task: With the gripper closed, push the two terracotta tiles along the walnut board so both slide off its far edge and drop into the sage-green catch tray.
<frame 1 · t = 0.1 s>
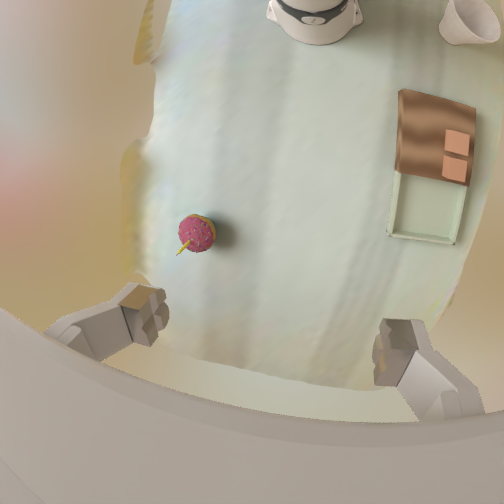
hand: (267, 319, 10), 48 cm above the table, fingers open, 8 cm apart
cup: (450, 33, 31), on the table
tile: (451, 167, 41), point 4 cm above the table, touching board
board: (433, 137, 43), on the table
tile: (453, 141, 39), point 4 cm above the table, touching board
cupcake: (204, 226, 64), on the table
tray: (425, 206, 49), on the table
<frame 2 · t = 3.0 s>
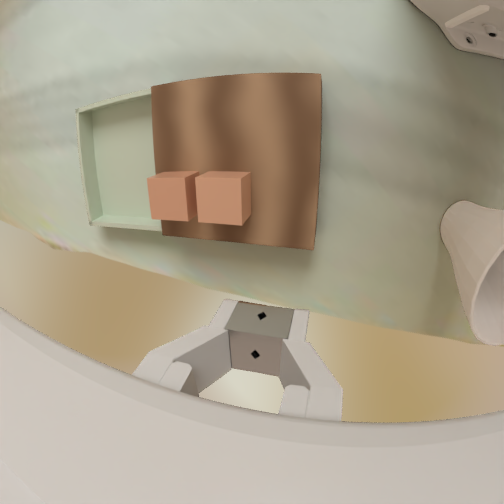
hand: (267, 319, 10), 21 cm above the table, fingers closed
cup: (461, 225, 25), on the table
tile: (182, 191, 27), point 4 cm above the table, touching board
board: (241, 155, 28), on the table
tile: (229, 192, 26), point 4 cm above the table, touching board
tray: (129, 159, 31), on the table
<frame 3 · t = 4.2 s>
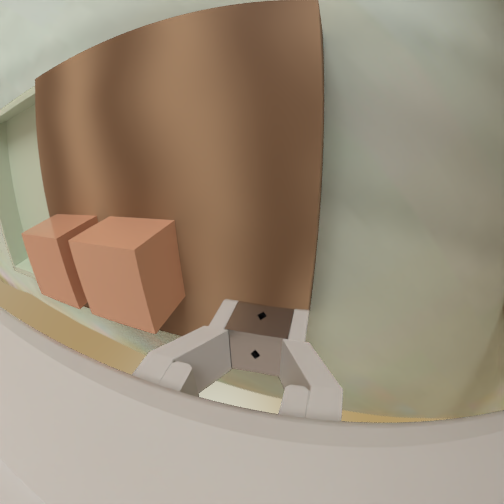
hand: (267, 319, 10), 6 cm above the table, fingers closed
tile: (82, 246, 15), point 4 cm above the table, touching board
board: (177, 178, 15), on the table
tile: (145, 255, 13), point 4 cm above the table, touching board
tray: (43, 185, 19), on the table
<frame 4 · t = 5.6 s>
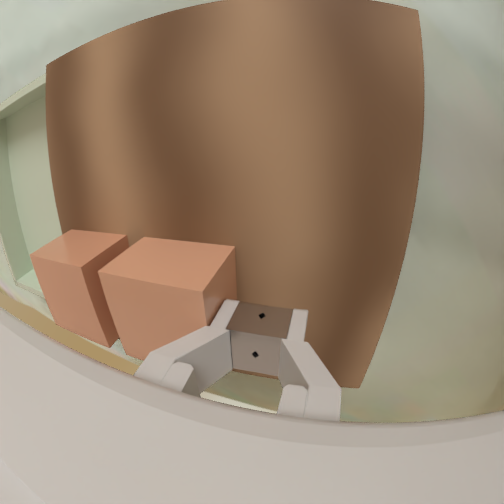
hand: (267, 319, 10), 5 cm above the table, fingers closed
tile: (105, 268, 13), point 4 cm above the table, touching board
board: (221, 190, 14), on the table
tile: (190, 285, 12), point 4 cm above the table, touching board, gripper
tray: (49, 192, 17), on the table
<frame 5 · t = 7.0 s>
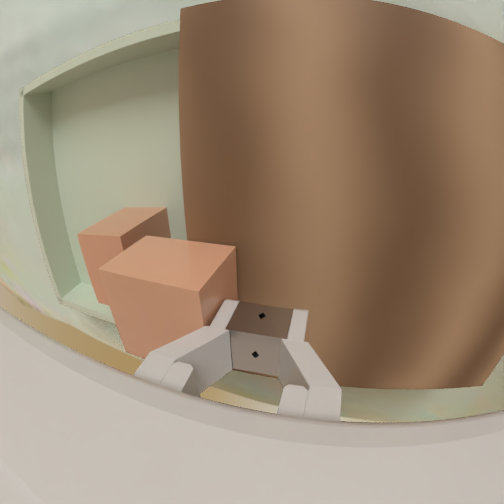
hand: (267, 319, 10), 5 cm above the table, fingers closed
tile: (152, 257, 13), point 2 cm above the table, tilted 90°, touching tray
board: (386, 204, 12), on the table
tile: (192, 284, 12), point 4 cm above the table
tray: (121, 188, 15), on the table
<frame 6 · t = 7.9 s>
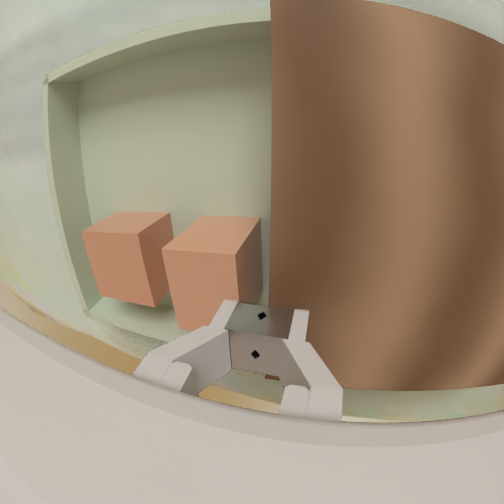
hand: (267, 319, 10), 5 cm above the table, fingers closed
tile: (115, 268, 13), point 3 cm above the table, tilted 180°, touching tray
board: (444, 215, 11), on the table
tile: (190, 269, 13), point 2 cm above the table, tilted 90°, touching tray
tray: (164, 190, 14), on the table
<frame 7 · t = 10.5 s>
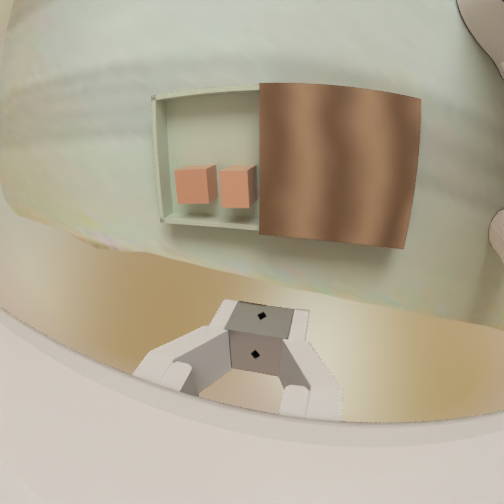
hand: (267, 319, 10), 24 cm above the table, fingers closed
cup: (503, 229, 26), on the table
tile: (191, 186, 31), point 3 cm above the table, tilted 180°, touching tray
board: (338, 161, 29), on the table
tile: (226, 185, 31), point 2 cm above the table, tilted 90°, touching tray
tray: (213, 155, 32), on the table
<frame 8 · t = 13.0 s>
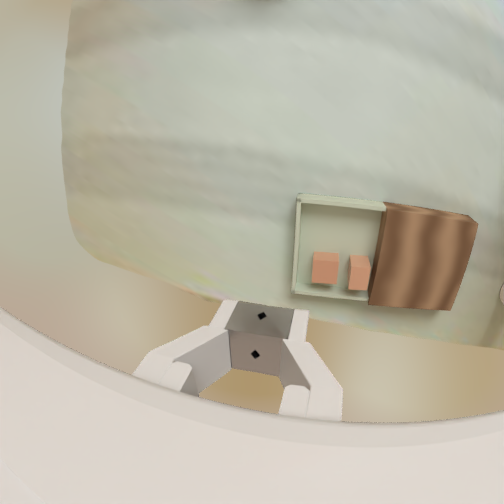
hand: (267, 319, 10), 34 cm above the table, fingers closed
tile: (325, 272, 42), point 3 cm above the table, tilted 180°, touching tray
board: (418, 254, 40), on the table
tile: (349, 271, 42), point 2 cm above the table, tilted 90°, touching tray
tray: (336, 245, 44), on the table
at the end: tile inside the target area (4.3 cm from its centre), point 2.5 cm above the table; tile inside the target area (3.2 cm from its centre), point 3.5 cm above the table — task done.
